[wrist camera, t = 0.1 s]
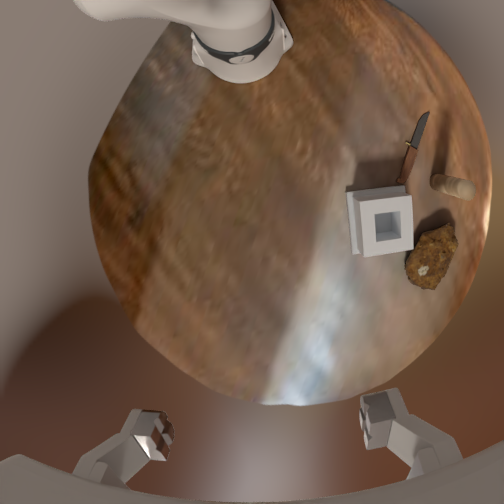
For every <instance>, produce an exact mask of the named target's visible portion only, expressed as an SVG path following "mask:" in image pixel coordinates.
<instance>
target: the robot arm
mask: <svg viewBox="0 0 504 504" xmlns="http://www.w3.org/2000/svg"><path fill="white" fill-rule="evenodd" d="M73 1H74V3H75V4H76V5H77V7H79V9H80V10H81V11H83V12H84V13H86V14H87V15H89V16H91V17H92V18H95V19H98V20H100V21H111V20H117V19H126V18H156V19H162V20H168V21H173V22H177V23H181V24H184V25H187V26H189V27H190V28H191V29H192V30H193V32H192V33H191V37H192V39H193V48H192V60H193V62H194V63H195V64H197V65H199V66H203V67H206V68H208V69H209V70H210V71H212V72H213V73H214V74H215V75H216V76H218V77H219V78H221V79H223V80H226V81H229V82H233V83H248V82H253V81H256V80H259V79H261V78H263V77H265V76H266V75H268V74H269V73H270V72H271V71H272V70H273V69H274V68H275V67H276V66H277V64H278V62H279V60H280V58H281V56H282V55H283V53H285V52H286V51H287V50H288V49H290V48H291V47H292V45H293V39H292V37H291V35H290V33H289V31H288V29H287V27H286V25H285V23H284V21H283V19H282V17H281V15H280V13H279V11H278V10H277V8H276V6H275V4H274V2H273V1H272V0H73ZM284 35H285V36H286V38H285V37H284ZM360 403H361V408H360V424H361V429H362V430H363V431H364V441H365V445H366V449H367V450H370V449H375V448H380V447H384V446H387V447H388V448H389V449H390V450H391V451H392V452H394V453H395V454H396V455H397V456H398V457H399V458H401V459H402V460H403V461H404V462H405V463H407V464H408V465H409V466H410V467H411V470H410V472H409V475H408V477H407V479H406V480H404V481H400V482H396V483H393V484H389V485H385V486H381V487H377V488H372V489H368V490H364V491H358V492H353V493H348V494H342V495H336V496H329V497H322V498H314V499H305V500H294V501H279V502H216V501H201V500H190V499H181V498H173V497H166V496H159V495H153V494H147V493H142V492H137V491H132V490H130V489H129V488H128V487H127V486H126V484H125V483H126V482H127V481H128V480H129V479H130V478H131V477H132V476H133V475H135V474H136V473H137V472H138V471H139V470H140V469H141V468H142V467H143V466H144V465H145V464H146V463H147V462H148V461H149V459H151V460H162V461H167V458H168V455H169V452H170V448H169V445H170V444H171V443H172V442H173V440H174V428H173V425H172V424H171V422H169V421H168V420H167V418H168V416H167V414H166V413H165V412H164V411H154V410H141V409H133V410H132V411H131V412H130V414H129V416H128V418H127V420H126V422H125V424H124V426H123V428H122V430H121V432H120V434H118V433H117V434H115V435H114V436H112V437H111V438H109V439H108V440H106V441H105V442H103V443H102V444H100V445H99V446H97V447H96V448H94V449H92V450H91V451H89V452H88V453H86V454H84V455H83V456H81V458H80V460H79V462H78V464H77V466H76V468H75V469H74V471H73V473H72V474H69V473H67V472H64V471H61V470H58V469H55V468H53V467H50V466H48V465H45V464H42V463H40V462H38V461H35V460H33V459H31V458H28V457H26V456H24V455H20V454H19V455H15V456H12V457H9V458H7V459H5V460H3V461H1V462H0V504H504V440H503V441H501V442H499V443H497V444H495V445H493V446H491V447H489V448H487V449H485V450H483V451H481V452H479V453H477V454H474V455H472V456H470V457H468V458H465V459H463V458H462V455H461V453H460V451H459V449H458V446H457V444H456V442H455V440H454V438H453V437H451V436H450V435H448V434H446V433H444V432H443V431H440V430H439V429H437V428H435V427H434V426H432V425H430V424H429V423H427V422H425V421H423V420H422V419H420V418H418V417H417V416H415V415H413V414H411V415H409V413H408V411H407V408H406V406H405V404H404V401H403V399H402V397H401V394H400V392H399V390H398V388H393V389H389V390H385V391H380V392H376V393H371V394H367V395H362V396H361V399H360Z"/></svg>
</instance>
